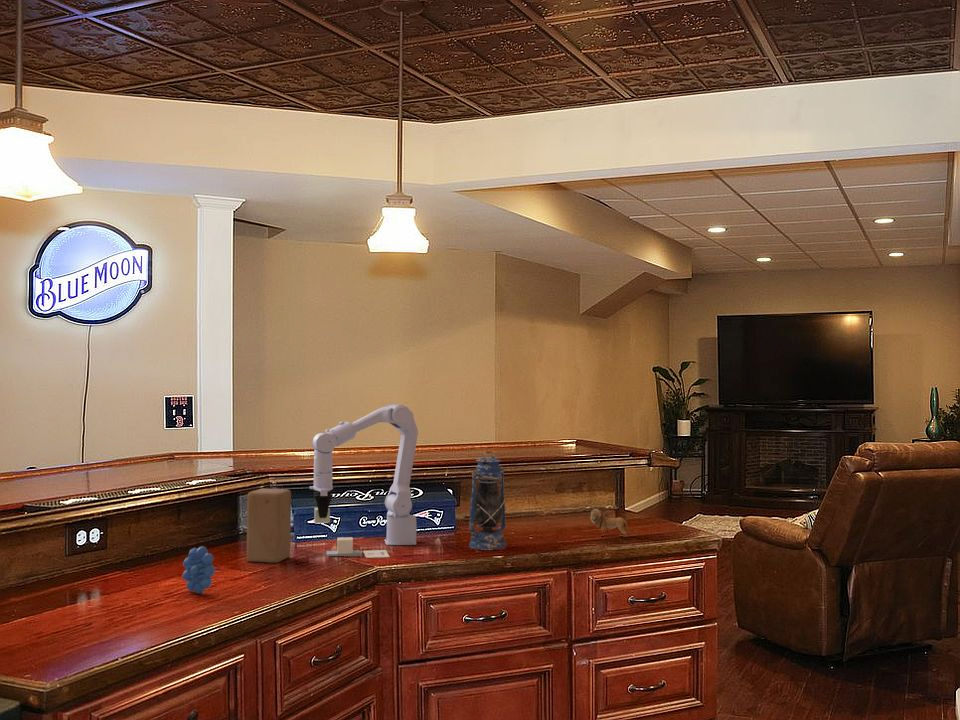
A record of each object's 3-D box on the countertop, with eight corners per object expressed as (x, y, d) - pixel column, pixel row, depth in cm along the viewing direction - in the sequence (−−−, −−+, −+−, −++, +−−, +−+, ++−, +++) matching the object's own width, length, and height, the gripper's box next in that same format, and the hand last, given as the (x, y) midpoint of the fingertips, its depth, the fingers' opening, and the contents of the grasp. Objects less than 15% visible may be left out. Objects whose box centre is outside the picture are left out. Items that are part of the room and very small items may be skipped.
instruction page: (385, 550, 304) (386, 549, 304) (389, 557, 295) (389, 556, 295) (362, 551, 303) (363, 550, 303) (365, 557, 293) (365, 556, 293)
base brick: (359, 554, 301) (359, 550, 301) (361, 558, 296) (361, 553, 296) (326, 556, 299) (326, 551, 299) (328, 559, 294) (328, 554, 294)
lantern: (483, 553, 303) (484, 454, 302) (456, 547, 311) (457, 451, 311) (518, 547, 313) (520, 451, 313) (491, 541, 322) (492, 448, 322)
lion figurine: (588, 536, 333) (588, 509, 333) (591, 534, 338) (592, 507, 338) (632, 539, 328) (632, 512, 328) (635, 537, 334) (635, 510, 334)
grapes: (227, 594, 247) (228, 546, 247) (204, 599, 241) (205, 550, 241) (198, 587, 254) (199, 540, 254) (175, 591, 249) (176, 543, 249)
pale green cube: (329, 520, 310) (329, 507, 310) (329, 522, 305) (329, 509, 305) (314, 520, 309) (314, 507, 309) (314, 523, 304) (315, 510, 304)
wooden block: (277, 564, 283) (278, 493, 283) (245, 562, 285) (246, 492, 285) (291, 557, 293) (292, 489, 293) (259, 555, 295) (260, 487, 295)
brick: (352, 550, 300) (352, 537, 300) (352, 553, 295) (352, 539, 295) (337, 550, 299) (337, 537, 299) (337, 553, 295) (337, 540, 295)
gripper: (309, 469, 313) (308, 512, 313) (310, 475, 299) (310, 520, 299) (331, 469, 315) (331, 512, 315) (334, 474, 300) (333, 519, 300)
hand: (322, 516), depth 307 cm, fingers closed on pale green cube, 4 cm apart
